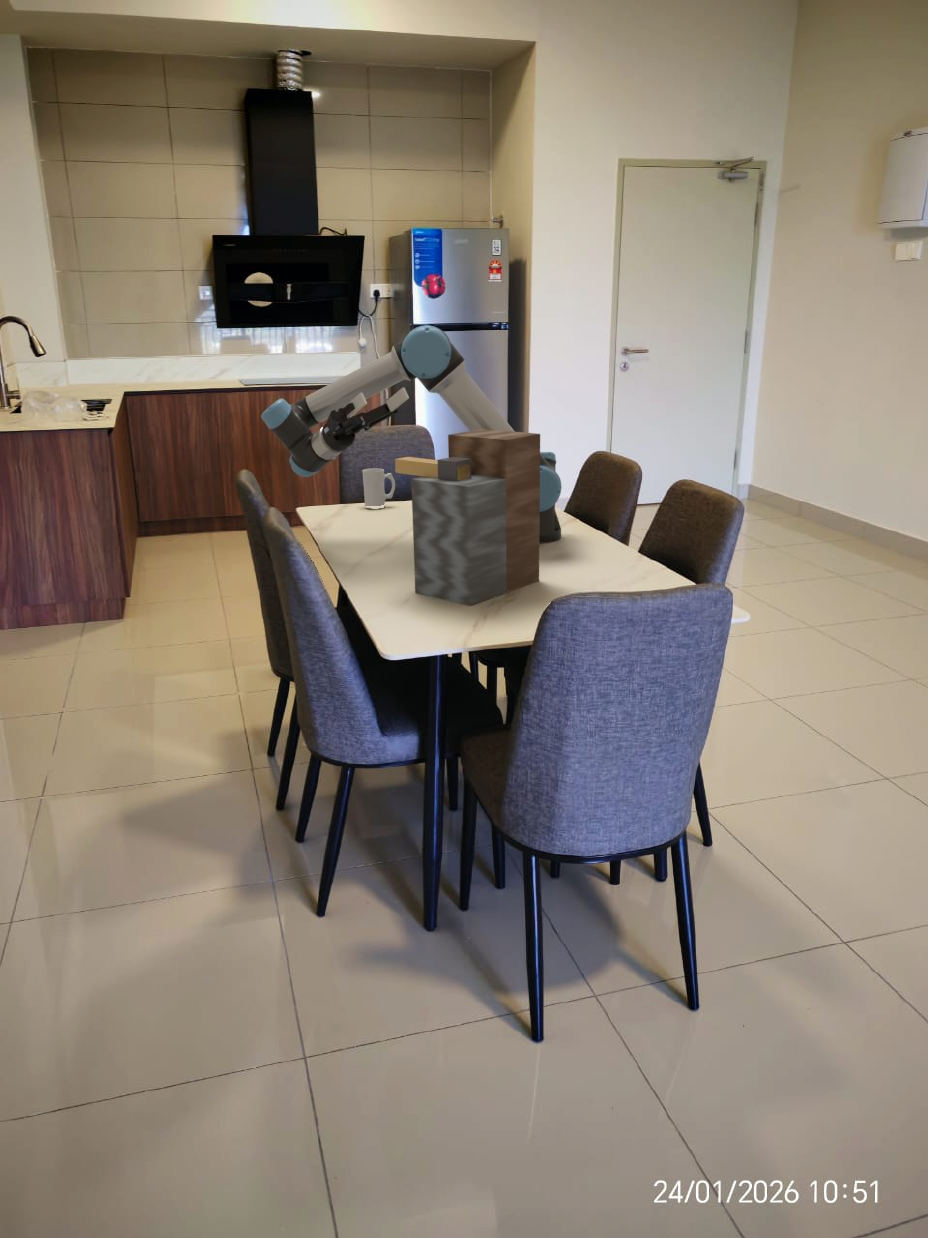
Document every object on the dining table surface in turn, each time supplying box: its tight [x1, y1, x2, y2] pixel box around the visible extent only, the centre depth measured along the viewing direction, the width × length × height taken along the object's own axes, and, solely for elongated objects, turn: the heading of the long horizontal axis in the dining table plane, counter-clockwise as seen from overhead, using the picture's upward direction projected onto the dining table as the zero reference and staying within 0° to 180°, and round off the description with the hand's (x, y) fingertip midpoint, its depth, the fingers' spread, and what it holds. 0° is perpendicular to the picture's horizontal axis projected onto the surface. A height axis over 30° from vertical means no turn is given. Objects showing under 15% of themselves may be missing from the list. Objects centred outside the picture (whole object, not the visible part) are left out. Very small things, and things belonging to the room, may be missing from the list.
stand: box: [410, 429, 541, 607], centre depth 202 cm, size 16×24×33 cm, turn 139°
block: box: [394, 456, 471, 481], centre depth 199 cm, size 18×5×4 cm, turn 50°
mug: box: [362, 467, 396, 507], centre depth 291 cm, size 10×7×12 cm, turn 95°
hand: (385, 395), depth 210 cm, fingers open, 13 cm apart
